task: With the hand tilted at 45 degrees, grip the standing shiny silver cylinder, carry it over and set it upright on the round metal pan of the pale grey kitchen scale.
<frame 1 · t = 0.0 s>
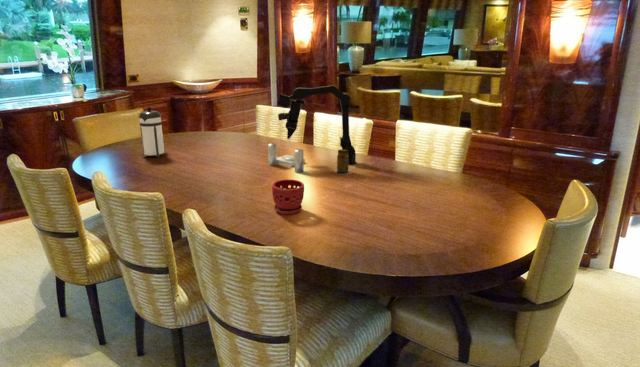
hand: (288, 137, 262), 15 cm above the table, tool pointing down, fingers open, 9 cm apart
scale: (288, 162, 269), on the table
condiment: (343, 172, 250), on the table
plant pot: (288, 211, 195), on the table
shiny silver cylinder: (299, 171, 251), on the table
coffee press: (154, 155, 286), on the table
spacer 2: (272, 164, 265), on the table
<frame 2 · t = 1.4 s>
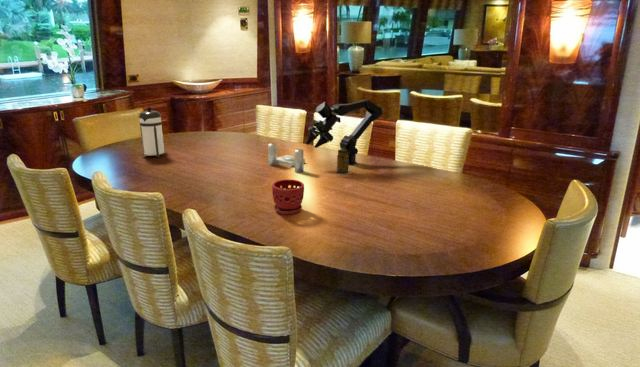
hand: (310, 145, 251), 13 cm above the table, tool tilted 45°, fingers open, 9 cm apart
nothing on the table moved.
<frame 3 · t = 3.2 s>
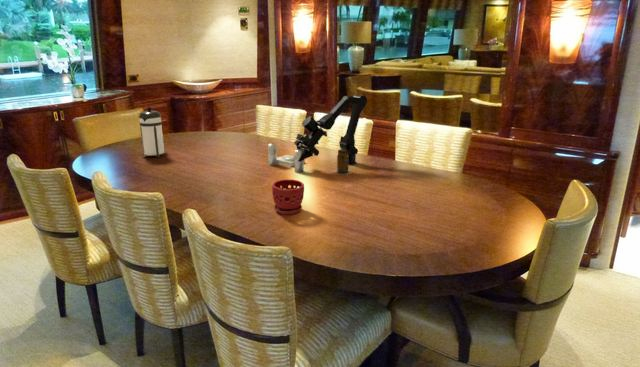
hand: (296, 160, 249), 7 cm above the table, tool tilted 45°, fingers closed on shiny silver cylinder, 5 cm apart
shiny silver cylinder: (299, 171, 251), on the table, touching gripper
everything else where it was.
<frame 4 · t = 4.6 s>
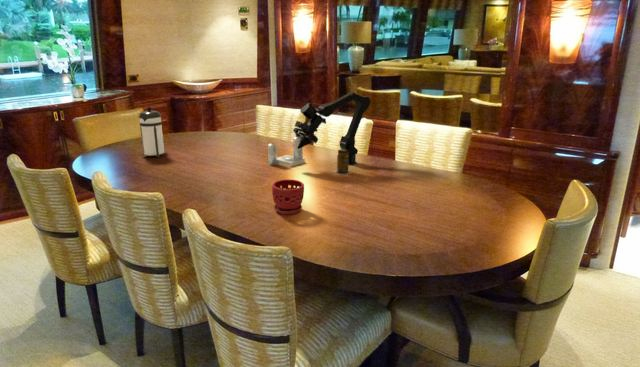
hand: (295, 147, 247), 13 cm above the table, tool tilted 45°, fingers closed on shiny silver cylinder, 5 cm apart
shiny silver cylinder: (298, 159, 250), point 7 cm above the table, touching gripper
everything else where it was.
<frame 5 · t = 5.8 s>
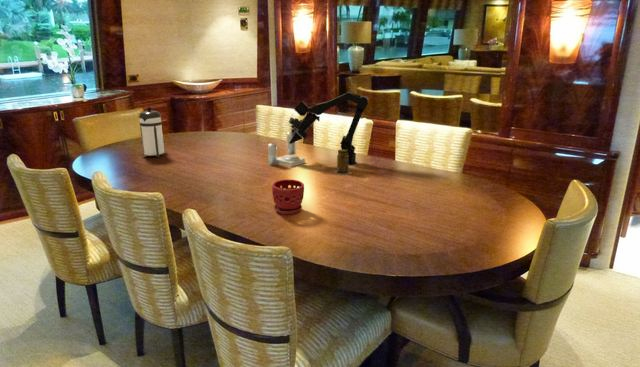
hand: (288, 142, 263), 12 cm above the table, tool tilted 45°, fingers closed on shiny silver cylinder, 5 cm apart
shiny silver cylinder: (291, 153, 266), point 6 cm above the table, touching gripper
everything else where it was.
when the fingers open (11 cm above the table, at t = 6.3 s): shiny silver cylinder stays where it is, resting on scale.
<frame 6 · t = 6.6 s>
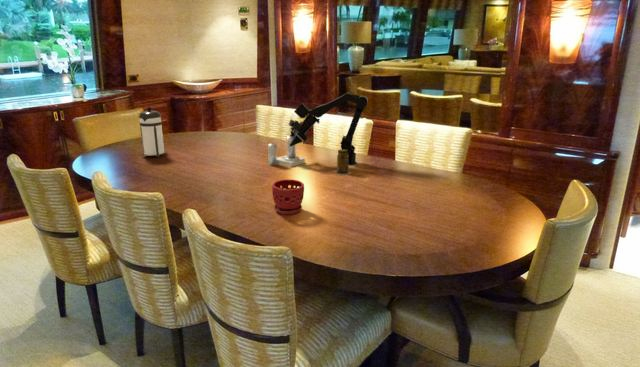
hand: (288, 144, 264), 11 cm above the table, tool tilted 45°, fingers open, 7 cm apart
shiny silver cylinder: (291, 157, 267), point 3 cm above the table, touching scale
everything else where it was.
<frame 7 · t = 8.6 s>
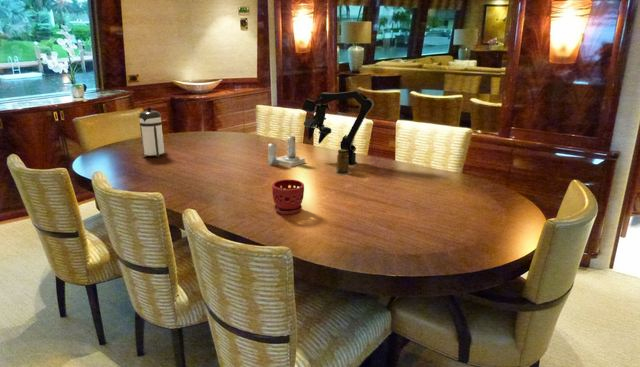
hand: (314, 141, 267), 12 cm above the table, tool pointing down, fingers open, 9 cm apart
nothing on the table moved.
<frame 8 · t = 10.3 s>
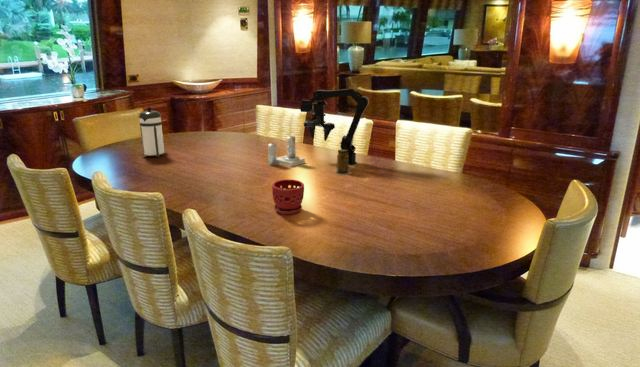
hand: (319, 139, 267), 13 cm above the table, tool pointing down, fingers open, 9 cm apart
nothing on the table moved.
at the end: shiny silver cylinder inside the target area (0.1 cm from its centre), point 3.4 cm above the table; shiny silver cylinder tilted 0°; the gripper is holding nothing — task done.
